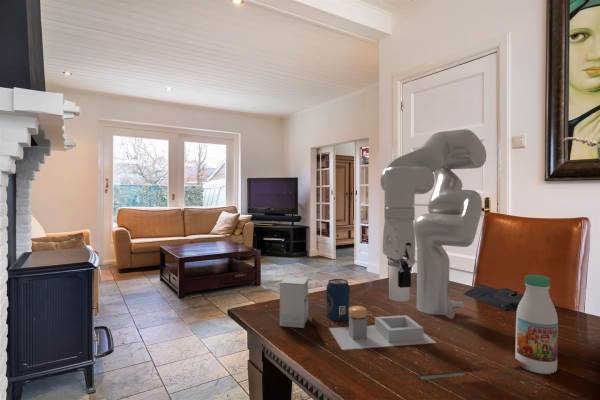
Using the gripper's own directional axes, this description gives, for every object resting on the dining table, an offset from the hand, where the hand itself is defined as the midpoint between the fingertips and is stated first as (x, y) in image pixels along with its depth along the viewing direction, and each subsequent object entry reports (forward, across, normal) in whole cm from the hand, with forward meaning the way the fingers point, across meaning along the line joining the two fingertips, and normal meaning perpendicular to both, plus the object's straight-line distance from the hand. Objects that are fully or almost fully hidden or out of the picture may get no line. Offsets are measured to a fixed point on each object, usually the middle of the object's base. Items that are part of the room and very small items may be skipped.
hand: (399, 283), depth 91 cm
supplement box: (+15, -16, -26) cm, 33 cm away
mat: (+15, +14, 0) cm, 21 cm away
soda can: (+15, -14, -12) cm, 24 cm away
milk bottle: (+15, +18, +24) cm, 33 cm away
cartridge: (+4, 0, 0) cm, 4 cm away
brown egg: (+12, 0, -12) cm, 16 cm away
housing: (+15, 0, -6) cm, 16 cm away
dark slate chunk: (+17, -25, +50) cm, 58 cm away
